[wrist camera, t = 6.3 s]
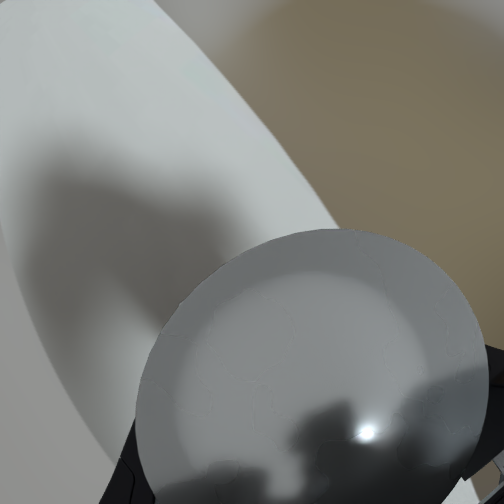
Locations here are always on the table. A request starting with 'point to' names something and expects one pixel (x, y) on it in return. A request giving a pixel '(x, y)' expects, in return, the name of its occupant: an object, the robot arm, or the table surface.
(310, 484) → the grey cup
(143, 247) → the table surface
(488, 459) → the robot arm
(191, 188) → the table surface
